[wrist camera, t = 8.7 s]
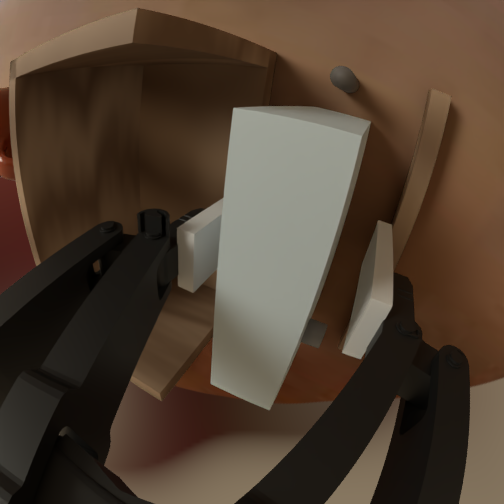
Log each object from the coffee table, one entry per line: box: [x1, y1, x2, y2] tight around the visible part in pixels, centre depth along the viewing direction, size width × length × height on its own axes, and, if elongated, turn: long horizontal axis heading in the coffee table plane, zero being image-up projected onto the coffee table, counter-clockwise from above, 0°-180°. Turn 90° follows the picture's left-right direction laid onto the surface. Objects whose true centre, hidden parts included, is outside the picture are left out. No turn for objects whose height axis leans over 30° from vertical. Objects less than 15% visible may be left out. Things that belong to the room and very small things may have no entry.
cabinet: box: [9, 8, 452, 401], centre depth 13 cm, size 17×18×10 cm
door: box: [211, 106, 371, 410], centre depth 12 cm, size 12×4×9 cm, turn 171°
